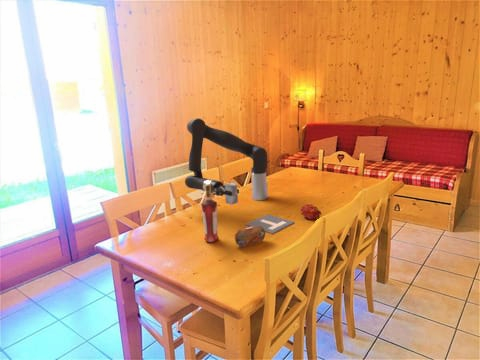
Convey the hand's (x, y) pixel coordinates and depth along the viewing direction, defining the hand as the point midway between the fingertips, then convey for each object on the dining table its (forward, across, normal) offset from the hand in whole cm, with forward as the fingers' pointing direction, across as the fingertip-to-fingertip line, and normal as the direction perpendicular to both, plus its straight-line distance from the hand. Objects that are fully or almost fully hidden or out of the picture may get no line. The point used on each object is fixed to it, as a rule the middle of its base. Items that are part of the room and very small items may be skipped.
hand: (235, 192), depth 190 cm
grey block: (-3, 0, +6) cm, 7 cm away
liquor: (+4, -21, +18) cm, 28 cm away
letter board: (+13, +12, +18) cm, 25 cm away
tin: (+21, -12, +18) cm, 30 cm away
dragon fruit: (+25, +32, +18) cm, 44 cm away
